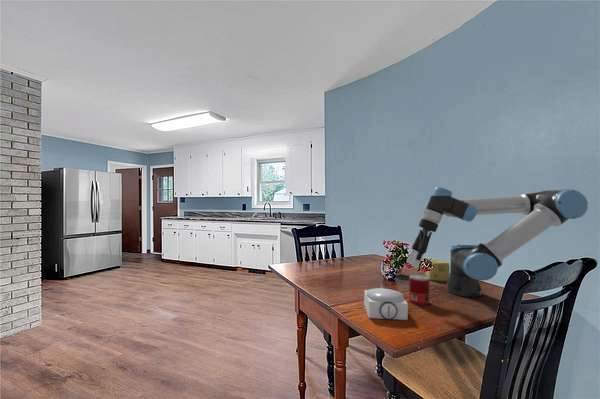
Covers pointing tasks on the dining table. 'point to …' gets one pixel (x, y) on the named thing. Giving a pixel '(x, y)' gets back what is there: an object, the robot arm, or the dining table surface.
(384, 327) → the dining table surface
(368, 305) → the kitchen scale
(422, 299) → the canned food
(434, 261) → the cheese
